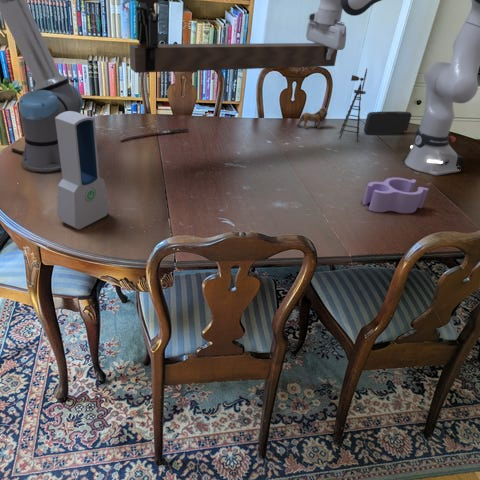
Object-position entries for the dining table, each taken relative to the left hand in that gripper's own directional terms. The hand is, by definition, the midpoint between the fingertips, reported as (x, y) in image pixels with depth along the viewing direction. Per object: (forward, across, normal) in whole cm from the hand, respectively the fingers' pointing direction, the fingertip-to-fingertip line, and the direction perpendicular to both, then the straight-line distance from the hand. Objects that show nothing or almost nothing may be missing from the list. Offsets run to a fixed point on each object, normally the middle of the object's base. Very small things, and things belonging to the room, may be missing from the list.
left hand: (147, 68), depth 151 cm
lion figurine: (+33, +16, -85) cm, 92 cm away
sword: (+33, +23, -11) cm, 42 cm away
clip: (+32, -57, -65) cm, 92 cm away
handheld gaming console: (+32, -1, -116) cm, 120 cm away
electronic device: (+33, -32, +30) cm, 55 cm away
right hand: (-2, 0, -71) cm, 71 cm away
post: (+1, 0, -35) cm, 35 cm away
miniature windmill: (+32, 0, -94) cm, 100 cm away
